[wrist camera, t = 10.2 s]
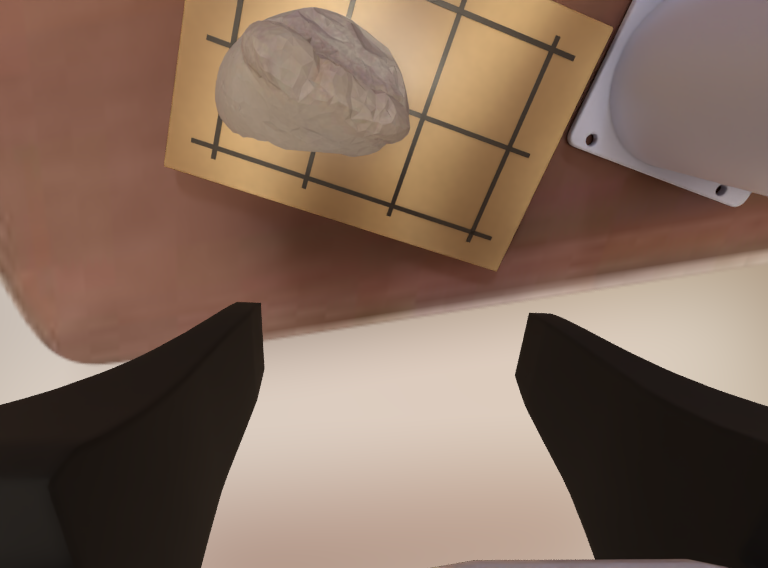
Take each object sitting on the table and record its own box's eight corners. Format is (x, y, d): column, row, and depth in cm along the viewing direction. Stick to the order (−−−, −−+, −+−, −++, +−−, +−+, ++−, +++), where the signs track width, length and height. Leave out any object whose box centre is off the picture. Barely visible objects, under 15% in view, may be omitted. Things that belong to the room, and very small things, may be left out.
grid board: (602, 30, 18) (615, 27, 17) (491, 264, 22) (497, 272, 21) (213, -139, 15) (202, -154, 14) (172, 162, 19) (162, 166, 18)
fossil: (257, 124, 18) (139, 160, 9) (251, 28, 16) (102, -50, 7) (396, 132, 18) (421, 174, 9) (401, 38, 17) (439, -25, 8)
